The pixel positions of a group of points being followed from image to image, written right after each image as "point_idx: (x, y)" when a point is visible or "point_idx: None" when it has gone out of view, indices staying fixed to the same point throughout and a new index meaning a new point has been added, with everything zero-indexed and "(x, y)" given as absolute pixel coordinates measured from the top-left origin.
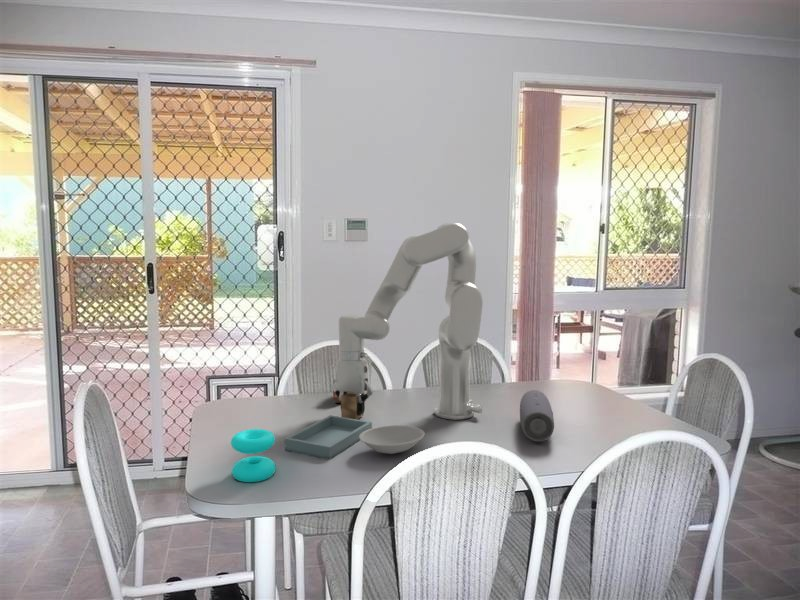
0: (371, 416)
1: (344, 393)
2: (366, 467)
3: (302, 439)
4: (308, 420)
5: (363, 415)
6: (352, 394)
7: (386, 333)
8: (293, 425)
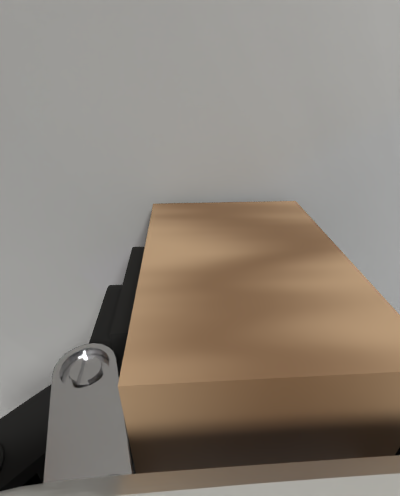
0: (352, 154)
1: (84, 434)
2: None
3: None
4: (4, 397)
5: (295, 205)
6: (268, 459)
7: None
8: None
